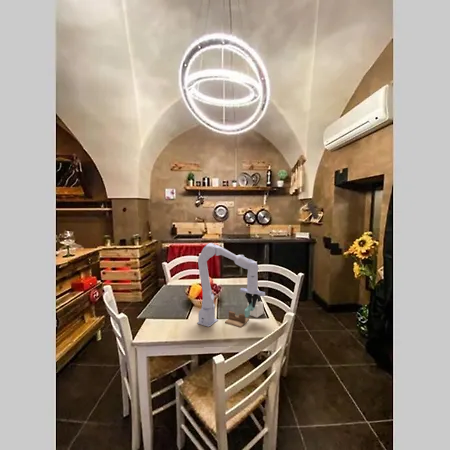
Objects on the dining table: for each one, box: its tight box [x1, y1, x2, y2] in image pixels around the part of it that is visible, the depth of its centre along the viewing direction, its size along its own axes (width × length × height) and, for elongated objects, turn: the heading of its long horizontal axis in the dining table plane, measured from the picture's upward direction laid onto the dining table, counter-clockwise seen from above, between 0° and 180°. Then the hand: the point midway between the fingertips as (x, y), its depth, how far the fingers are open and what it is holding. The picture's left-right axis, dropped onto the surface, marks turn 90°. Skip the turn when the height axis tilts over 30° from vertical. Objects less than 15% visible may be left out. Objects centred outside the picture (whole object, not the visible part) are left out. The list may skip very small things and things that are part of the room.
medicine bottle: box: [246, 294, 264, 318], centre depth 153 cm, size 7×7×12 cm
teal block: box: [244, 302, 255, 319], centre depth 141 cm, size 10×2×4 cm, turn 149°
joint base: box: [224, 310, 250, 328], centre depth 144 cm, size 10×10×5 cm
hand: (252, 306), depth 143 cm, fingers closed on teal block, 1 cm apart
